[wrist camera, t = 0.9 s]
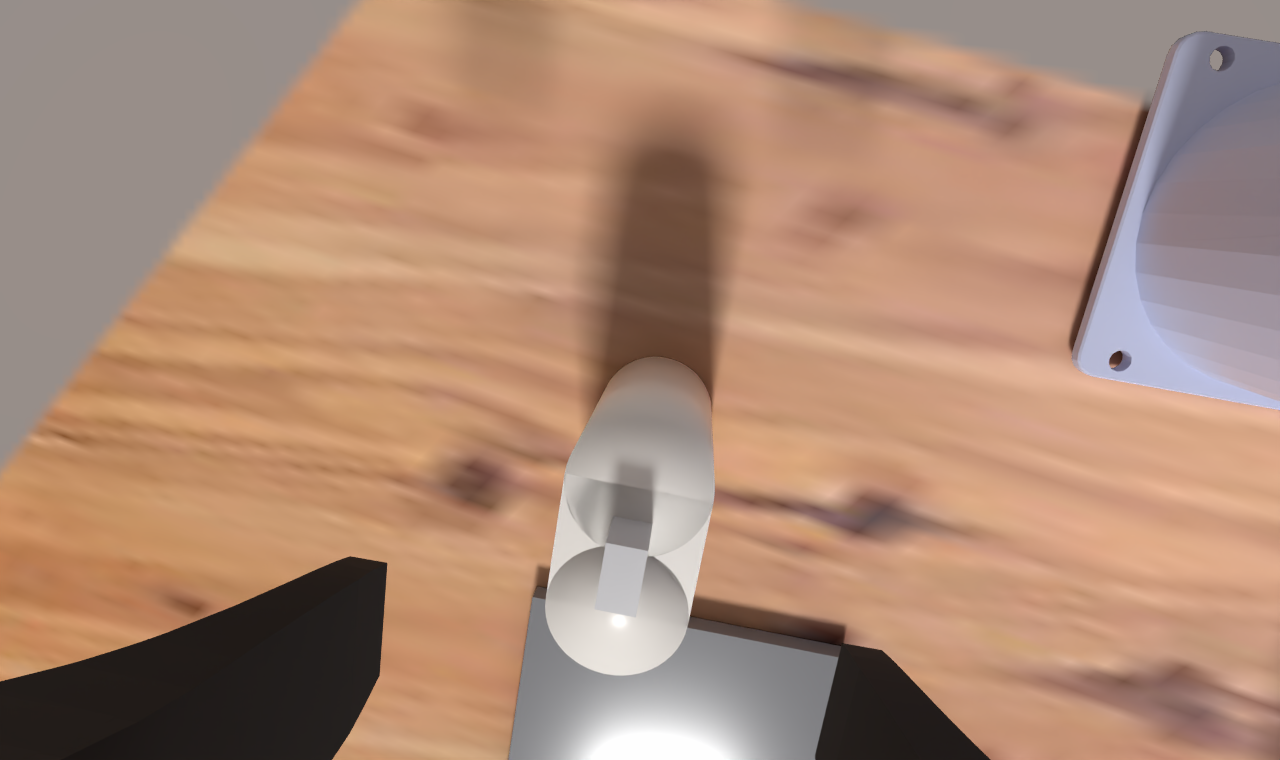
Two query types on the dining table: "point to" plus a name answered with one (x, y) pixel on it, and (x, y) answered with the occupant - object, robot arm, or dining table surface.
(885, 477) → the dining table surface
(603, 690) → the slate coaster
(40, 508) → the dining table surface
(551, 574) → the charger plug
